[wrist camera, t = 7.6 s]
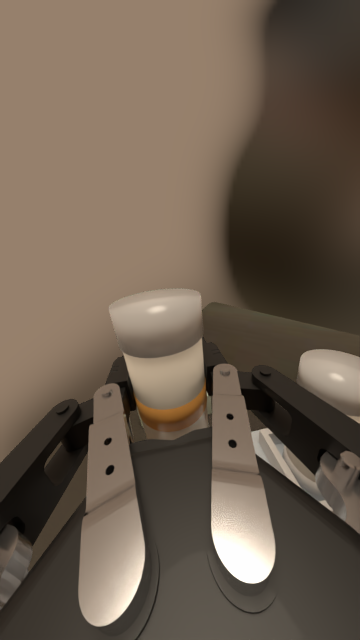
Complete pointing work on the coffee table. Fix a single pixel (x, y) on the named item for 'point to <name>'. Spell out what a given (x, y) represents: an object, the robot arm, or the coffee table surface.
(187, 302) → the cylinder
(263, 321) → the coffee table surface
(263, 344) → the coffee table surface
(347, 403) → the cylinder
